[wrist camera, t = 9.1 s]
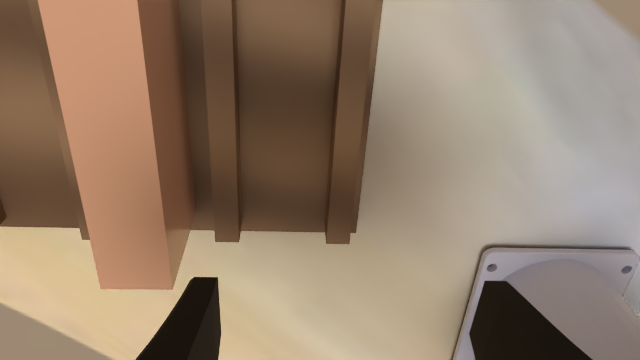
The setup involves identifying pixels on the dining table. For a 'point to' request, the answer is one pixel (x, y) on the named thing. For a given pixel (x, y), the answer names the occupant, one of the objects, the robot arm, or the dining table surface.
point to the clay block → (126, 132)
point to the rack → (217, 116)
